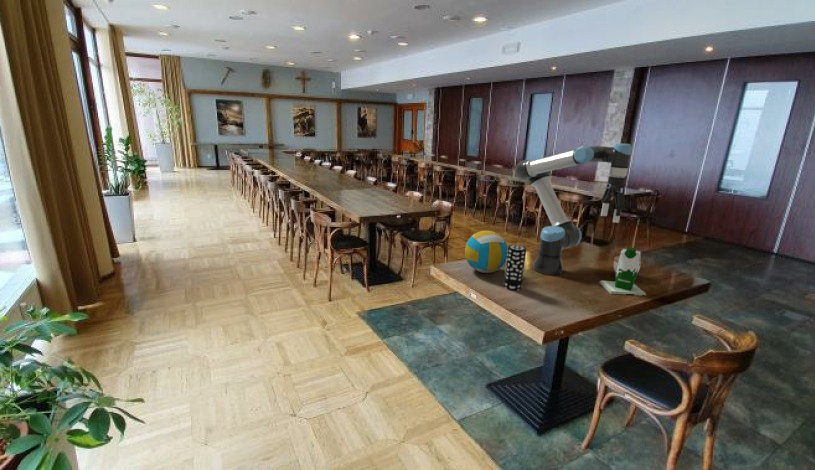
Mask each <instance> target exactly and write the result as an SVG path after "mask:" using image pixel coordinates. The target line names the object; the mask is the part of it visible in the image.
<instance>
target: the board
mask: <svg viewBox="0 0 815 470" xmlns="http://www.w3.org/2000/svg"><path fill="white" fill-rule="evenodd" d="M599 284H600V285H601V286H602V287H603V288H604V289H605V290H606V291H607V292H608V293H609V294H612V295H613V294H614V295H626V294H634V295H633V296H642V295H645V296H646V295H647V294H646V292H645V291H644V290H642V288H640V287H639V286H638V285H637V284H635V283H634V285H633V287H632V290H631V291H630V290H625V289H621V288H617V287H615V281H611V280H610V281H609V280H599Z"/></svg>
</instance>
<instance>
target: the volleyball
mask: <svg viewBox="0 0 815 470" xmlns="http://www.w3.org/2000/svg"><path fill="white" fill-rule="evenodd" d="M507 251H508V244H507V242H506V241H505V239H504V238H503V237H502V236H501V234H499V233H497V232H495V231H492V230H480V231H478V232H476V233H474V234H472V235H471V236H470V238H468V240H467V242H466V244H465V247H464V255H465V259H466V262H467V263H468V265H469V266H470V267H471V268H472V269H474V270H475V271H478V272H480V273H483V274H489V273H494V272H496V271H498V270H500V269H501V268H502V267H504V265H505V264H506V260H507Z"/></svg>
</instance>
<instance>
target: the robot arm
mask: <svg viewBox="0 0 815 470" xmlns="http://www.w3.org/2000/svg"><path fill="white" fill-rule="evenodd" d="M631 155H632V145H631V144H630V143H617V142H616V143H614V146H603V145H602V146H601V145H591V146H588V145H586V146H580V147H578V148H576V149H573V150H569V151H568V150H567V151H565V152H561V153H557V154H553V155H550V156H549V155H548V156H546V157H542V158H536V159H533V158H531V159H523V160H521V161H519V162H518V163H517V164H516V166H515V168H514V169H515V170H514V172H515V173H514V174H515V176H516V178H517V179H519V180H521V181H524V182H529V184H530V186H531V187H533V188H534V189H535V191H536V193H537V196H538V198H539V200H540V202H541V204H542V206H543V208H544V210H545V214H546V215H547V217H548V220H549V222H550V223H551V225H549V226H545V227H543V228H542V229H541V233H540V236H539V237H540V239H539V246H538V254H537V256H536V258H535V261H534V262H533V266H532V269H533V270H534V271H535V272H538V273H541V274H544V275H548V276H549V275H550V276H556V275H557V276H558V275H561V274H562V273H563V270H564V268H563V261H562V253H563V250H566V249H570V248H574V247H576V246H577V245H579V244H580V242H581V240H582V236H583V235H582V231H581V229H580V228H579V227H578V226H576V225H574V223H573V221H572V220H571V219H568V218H567V216H566V214H565V211H564V209H563V207H562V205H561V203H560V200H559V199H558V196H557V195H556V192H555V190H554V187H553V185H552V184H551V181H550V180H551V178H552V177H551V172H552V171H555V170H556V171H557V170H562V169H564V168H568V167H569V168H570V167H573V166H577V165H582V164H587V163H598V162H599V163H608V164H610V167H609V173H608V175H609V176H608V179H607V184H606V188H605V190H604V192H603V195H602V197H601V201H602V208H601V213H600V216H601V217H608V211H609V206H610V201H611V200H612V197H613V199H614V204H615V207H614V211H613V217H612V223H617V224H619V223H620V219H621V218H620V217H621V214H622V210H624V209H625V188H622V186H624V185H625V184H626V181H627V179H626V177H627V174H628V172H629V164H630V159H631Z"/></svg>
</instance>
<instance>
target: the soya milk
mask: <svg viewBox="0 0 815 470" xmlns="http://www.w3.org/2000/svg"><path fill="white" fill-rule="evenodd" d="M619 256H620V258H619V261H618V266H617V271H616V272H615V276H614V277H615V279H614V280H615V281H614V282H615V287H617V288H621V289H625V290H630V291H631V290H632V287H633V285H634V284H635V282H636V280H637V277H638V274H639V271H638V268H639V263H640V261H641V251H639V250H637V248H635V247H626V248H622V249H621V251H620V254H619Z"/></svg>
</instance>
